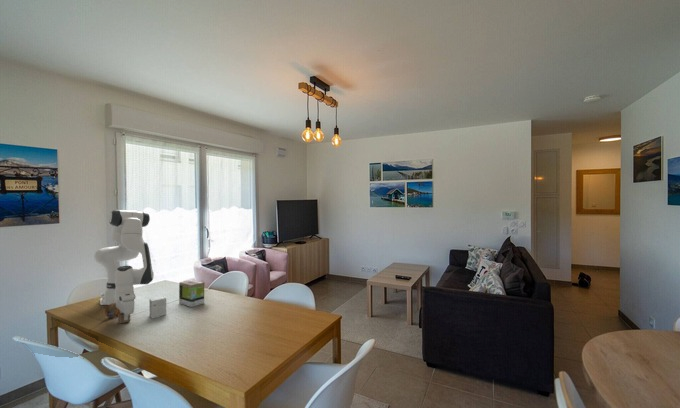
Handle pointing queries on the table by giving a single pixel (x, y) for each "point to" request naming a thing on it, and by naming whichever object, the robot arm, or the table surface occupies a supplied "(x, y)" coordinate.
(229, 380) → the table surface
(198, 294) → the tea box
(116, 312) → the tin
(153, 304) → the small box
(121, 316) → the walnut cube
